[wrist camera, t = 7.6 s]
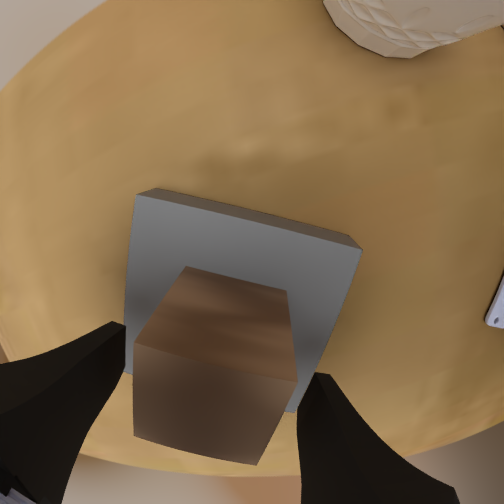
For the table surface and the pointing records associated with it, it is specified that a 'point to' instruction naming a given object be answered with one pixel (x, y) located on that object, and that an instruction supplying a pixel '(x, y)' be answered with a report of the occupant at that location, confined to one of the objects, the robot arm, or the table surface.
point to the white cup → (413, 22)
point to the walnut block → (214, 367)
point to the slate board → (239, 265)
